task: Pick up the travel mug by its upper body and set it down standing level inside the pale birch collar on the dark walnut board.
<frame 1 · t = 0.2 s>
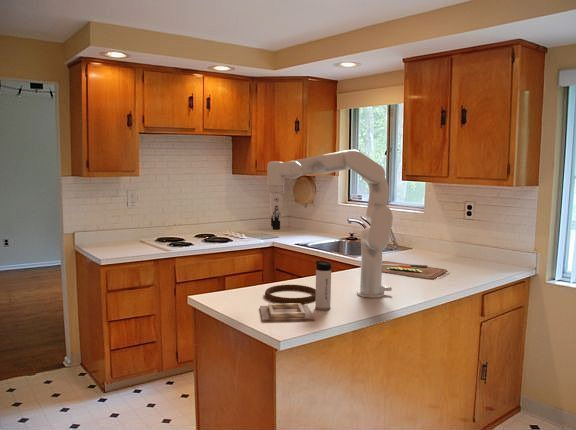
hand: (275, 228, 231), 31 cm above the worktop, tool pointing down, fingers open, 9 cm apart
travel mug: (322, 308, 217), on the worktop
decorative ring: (297, 297, 236), on the worktop
walnut coaster board: (286, 314, 208), on the worktop
chopping board: (405, 271, 292), on the worktop
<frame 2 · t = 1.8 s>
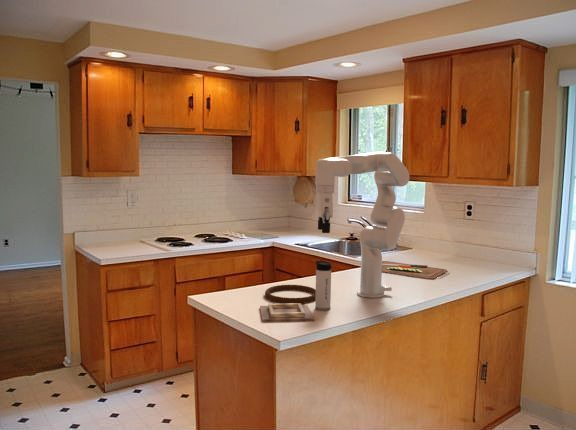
hand: (323, 231, 213), 33 cm above the worktop, tool pointing down, fingers open, 9 cm apart
nothing on the worktop moved.
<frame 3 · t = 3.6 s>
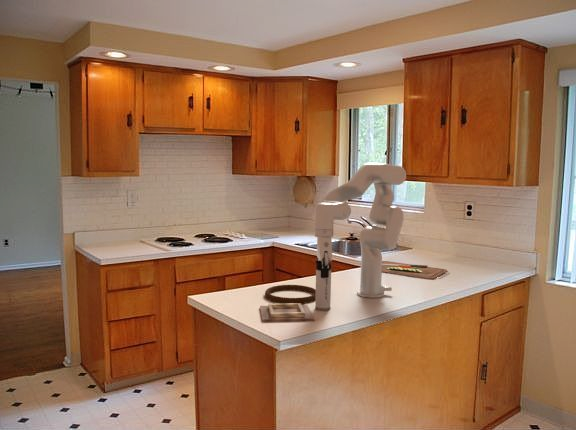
hand: (323, 275, 215), 14 cm above the worktop, tool pointing down, fingers closed on travel mug, 6 cm apart
travel mug: (322, 308, 217), on the worktop, touching gripper
everything else where it was.
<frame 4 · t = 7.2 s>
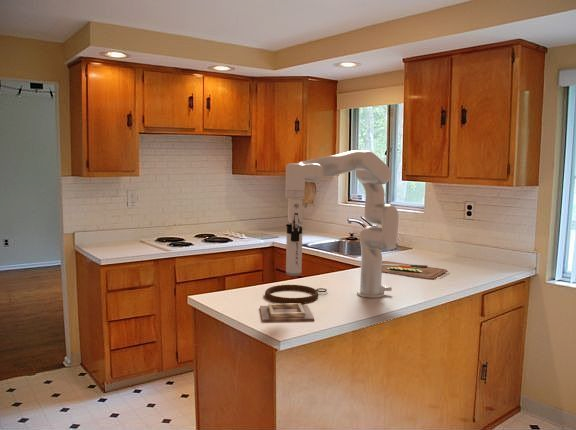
hand: (293, 239, 206), 30 cm above the worktop, tool pointing down, fingers closed on travel mug, 6 cm apart
travel mug: (293, 274, 208), point 16 cm above the worktop, touching gripper
everything else where it was.
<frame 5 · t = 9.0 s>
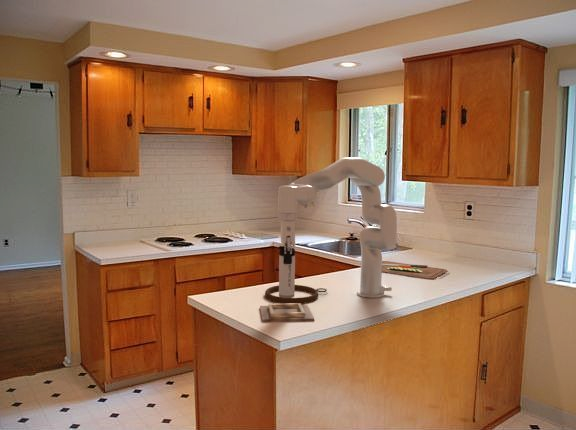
hand: (286, 261, 206), 22 cm above the worktop, tool pointing down, fingers closed on travel mug, 6 cm apart
travel mug: (286, 296, 208), point 7 cm above the worktop, touching gripper
everything else where it was.
when the fingers open (16 cm above the worktop, at t = 10.5 s): travel mug stays where it is, resting on walnut coaster board.
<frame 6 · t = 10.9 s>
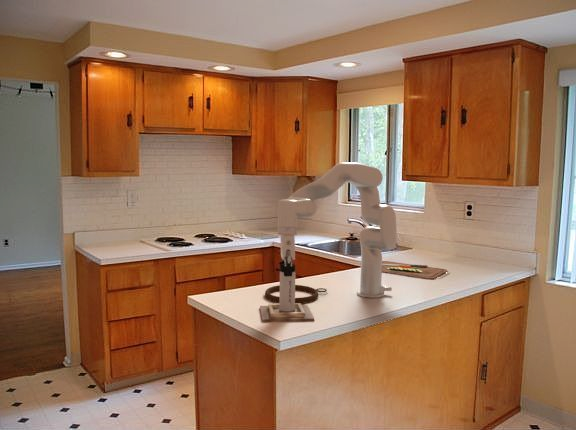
hand: (286, 273, 206), 17 cm above the worktop, tool pointing down, fingers open, 9 cm apart
travel mug: (286, 312, 209), point 1 cm above the worktop, touching walnut coaster board
everything else where it was.
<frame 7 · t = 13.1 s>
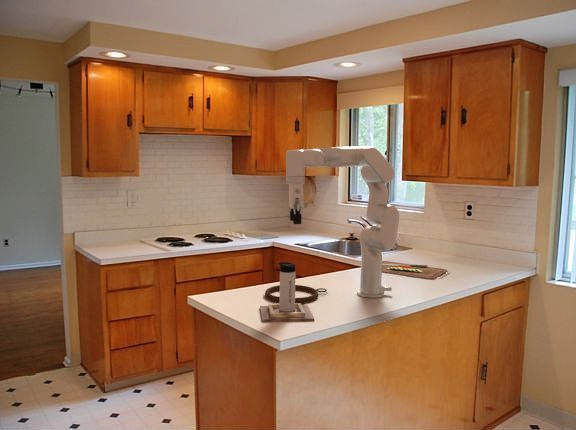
hand: (295, 222, 212), 36 cm above the worktop, tool pointing down, fingers open, 9 cm apart
nothing on the worktop moved.
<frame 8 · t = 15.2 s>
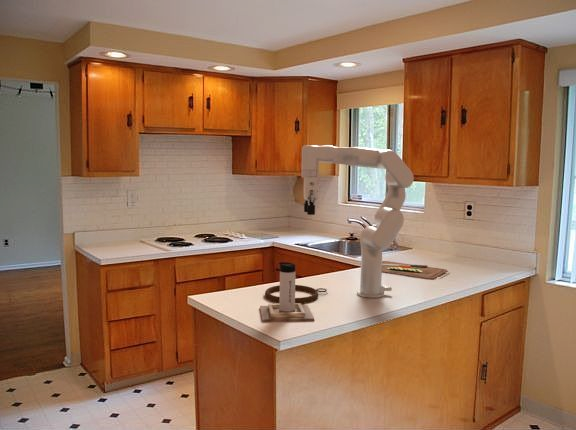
hand: (309, 213, 227), 38 cm above the worktop, tool pointing down, fingers open, 9 cm apart
nothing on the worktop moved.
at the end: travel mug 0.4 cm off-centre on the walnut coaster board, point 0.8 cm above the walnut coaster board's base; travel mug tilted 0°; the gripper is holding nothing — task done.
